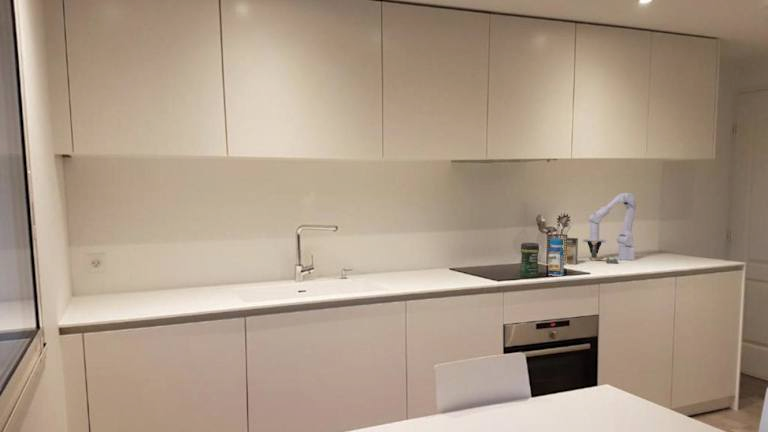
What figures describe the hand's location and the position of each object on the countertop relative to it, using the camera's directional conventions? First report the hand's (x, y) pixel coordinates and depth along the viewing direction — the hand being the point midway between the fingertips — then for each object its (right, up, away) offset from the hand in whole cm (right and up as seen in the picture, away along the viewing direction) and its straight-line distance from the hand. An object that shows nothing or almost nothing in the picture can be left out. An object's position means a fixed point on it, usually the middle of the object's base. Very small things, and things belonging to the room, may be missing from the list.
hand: (594, 253), depth 344 cm
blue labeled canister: (-43, -8, -54) cm, 70 cm away
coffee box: (-22, -6, -14) cm, 26 cm away
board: (+3, -4, -1) cm, 6 cm away
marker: (0, -3, 0) cm, 3 cm away
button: (+6, -5, -13) cm, 15 cm away
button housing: (+6, -5, -13) cm, 15 cm away
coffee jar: (-59, -9, -58) cm, 83 cm away
